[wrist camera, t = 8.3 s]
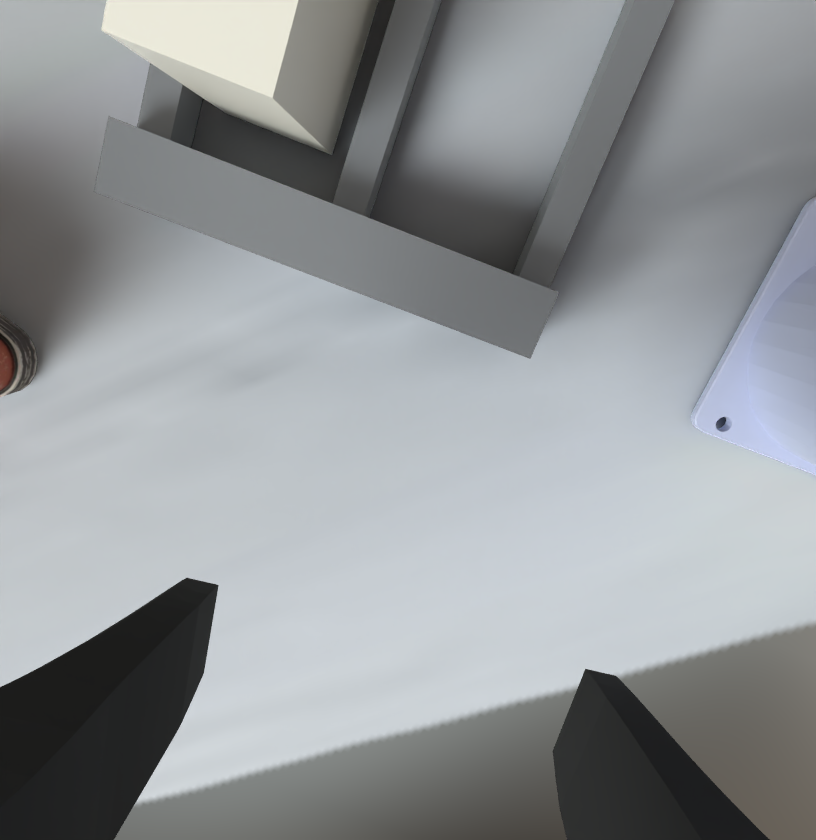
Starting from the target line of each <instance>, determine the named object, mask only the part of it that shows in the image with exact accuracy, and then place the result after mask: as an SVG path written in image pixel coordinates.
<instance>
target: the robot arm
mask: <svg viewBox="0 0 816 840" xmlns="http://www.w3.org/2000/svg"><path fill="white" fill-rule="evenodd" d="M722 417H726V423H725V425H724V426H723V427H721V428H716V422H717V421H718V420H719V418H722ZM691 422H692V424H693V426H694V427H696V428H697V429H699V430H700V431H702V432H704V433H706V434H709V435H712V436H714V437H717V438H720V439H722V440H725V441H727V442H730V443H733V444H735V445H738V446H741V447H743V448H746V449H748V450H751V451H754V452H756V453H759V454H761V455H764V456H767V457H769V458H772V459H775V460H777V461H780V462H782V463H785V464H788V465H790V466H793V467H796V468H798V469H801V470H803V471H806V472H809V473H811V474H814V475H816V197H814V198H812V199H810V200H809V201H808V202H807V203H806V204H805V206H804V207H803V209H802V210H801V212H800V214H799V216H798V218H797V220H796V222H795V223H794V225H793V227H792V229H791V231H790V233H789V234H788V236H787V238H786V240H785V242H784V244H783V245H782V247H781V249H780V251H779V253H778V255H777V257H776V258H775V260H774V262H773V264H772V266H771V268H770V269H769V271H768V273H767V275H766V277H765V279H764V280H763V282H762V284H761V286H760V288H759V290H758V292H757V293H756V295H755V297H754V299H753V301H752V303H751V304H750V306H749V308H748V310H747V312H746V314H745V315H744V317H743V319H742V321H741V323H740V325H739V327H738V328H737V330H736V332H735V334H734V336H733V338H732V339H731V341H730V343H729V345H728V347H727V349H726V350H725V352H724V354H723V356H722V358H721V360H720V362H719V363H718V365H717V367H716V369H715V371H714V373H713V374H712V376H711V378H710V380H709V382H708V384H707V385H706V387H705V389H704V391H703V393H702V395H701V397H700V398H699V400H698V402H697V404H696V406H695V408H694V409H693V411H692V414H691ZM217 591H218V585H216V584H211V583H207V582H203V581H198V580H194V579H189V578H186V579H184V580H182V581H180V582H179V583H177V584H176V585H174V586H173V587H171V588H170V589H168V590H167V591H165V592H164V593H162V594H161V595H159V596H158V597H156V598H155V599H153V600H151V601H150V602H148V603H147V604H145V605H144V606H142V607H141V608H139V609H138V610H136V611H135V612H133V613H132V614H130V615H128V616H127V617H125V618H124V619H122V620H120V621H119V622H117V623H116V624H114V625H112V626H111V627H109V628H108V629H106V630H104V631H103V632H101V633H99V634H98V635H96V636H95V637H93V638H91V639H90V640H88V641H86V642H85V643H83V644H81V645H79V646H77V647H76V648H74V649H72V650H70V651H68V652H67V653H65V654H63V655H61V656H60V657H58V658H56V659H54V660H52V661H51V662H49V663H47V664H45V665H43V666H42V667H40V668H38V669H36V670H34V671H32V672H30V673H28V674H26V675H24V676H22V677H21V678H19V679H16V680H14V681H12V682H10V683H8V684H6V685H4V686H2V687H0V840H114V838H115V837H116V835H117V833H118V831H119V830H120V828H121V826H122V825H123V823H124V821H125V819H126V818H127V816H128V814H129V813H130V811H131V809H132V808H133V806H134V804H135V803H136V801H137V799H138V797H139V796H140V794H141V792H142V791H143V789H144V787H145V786H146V784H147V782H148V780H149V779H150V777H151V775H152V774H153V772H154V770H155V768H156V767H157V765H158V763H159V762H160V760H161V758H162V756H163V755H164V753H165V751H166V750H167V748H168V746H169V744H170V743H171V741H172V739H173V737H174V736H175V734H176V732H177V730H178V729H179V727H180V725H181V723H182V721H183V719H184V716H185V714H186V712H187V710H188V708H189V705H190V703H191V701H192V699H193V696H194V694H195V692H196V690H197V687H198V685H199V683H200V680H201V678H202V676H203V674H204V668H205V662H206V656H207V650H208V644H209V638H210V632H211V626H212V620H213V615H214V609H215V603H216V597H217ZM553 756H554V766H555V776H556V783H557V791H558V799H559V806H560V811H561V816H562V820H563V824H564V828H565V832H566V837H567V840H769V839H768V838H767V837H766V836H765V835H764V834H763V833H762V832H761V831H760V830H759V829H758V828H757V827H756V826H755V825H754V824H753V823H752V822H751V821H750V820H749V819H748V818H747V817H746V816H745V815H744V814H743V813H742V812H741V811H740V810H739V809H738V808H737V807H736V806H735V805H734V804H733V803H732V802H731V801H730V800H729V799H728V797H726V795H724V793H723V792H722V791H721V790H720V789H719V788H718V787H717V786H716V785H715V784H714V783H713V782H712V781H711V780H710V778H709V777H708V776H707V775H706V774H705V773H704V772H703V771H702V770H701V769H700V768H699V767H698V766H697V765H696V763H695V762H694V761H693V760H692V759H691V758H690V757H689V756H688V755H687V754H686V752H685V751H684V750H683V749H682V748H681V747H680V746H679V745H678V743H677V742H676V741H675V740H674V739H673V738H672V737H671V736H670V734H669V733H668V732H667V731H666V730H665V729H664V728H663V727H662V725H661V724H660V723H659V722H658V721H657V720H656V719H655V718H654V716H653V715H652V714H651V713H650V712H649V711H648V710H647V709H646V707H645V706H644V705H643V704H642V703H641V702H640V701H639V700H638V698H637V697H636V696H635V695H634V694H633V693H632V692H631V691H630V690H629V689H628V688H627V687H626V686H625V685H624V683H622V681H621V680H620V679H619V678H618V677H616V676H614V675H610V674H605V673H601V672H596V671H592V670H588V669H585V671H584V674H583V677H582V679H581V682H580V684H579V687H578V689H577V692H576V694H575V697H574V699H573V702H572V704H571V707H570V709H569V712H568V714H567V717H566V719H565V722H564V724H563V727H562V729H561V732H560V734H559V737H558V740H557V742H556V744H555V747H554V750H553Z"/></svg>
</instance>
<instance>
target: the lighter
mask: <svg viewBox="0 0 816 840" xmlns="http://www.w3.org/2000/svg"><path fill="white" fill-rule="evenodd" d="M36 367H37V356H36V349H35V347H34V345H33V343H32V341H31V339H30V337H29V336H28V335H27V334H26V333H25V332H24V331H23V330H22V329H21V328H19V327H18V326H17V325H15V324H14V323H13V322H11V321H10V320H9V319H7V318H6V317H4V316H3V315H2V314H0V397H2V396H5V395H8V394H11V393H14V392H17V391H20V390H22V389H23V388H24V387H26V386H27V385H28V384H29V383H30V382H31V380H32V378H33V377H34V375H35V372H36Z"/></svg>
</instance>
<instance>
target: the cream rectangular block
mask: <svg viewBox="0 0 816 840" xmlns="http://www.w3.org/2000/svg"><path fill="white" fill-rule="evenodd" d="M378 1H379V0H107V1H106V7H105V12H104V18H103V23H102V29H101V30H102V31H103V32H105V33H106V34H108V35H109V36H111V37H112V38H114V39H115V40H117V41H118V42H120V43H121V44H123V45H124V46H126V47H127V48H129V49H130V50H132V51H133V52H135V53H136V54H138V55H139V56H141V57H142V58H144V59H145V60H147V61H148V62H150V63H151V64H153V65H154V66H156V67H157V68H159V69H160V70H162V71H163V72H165V73H166V74H168V75H169V76H171V77H172V78H174V79H175V80H177V81H178V82H180V83H181V84H183V85H184V86H186V87H187V88H189V89H190V90H192V91H193V92H195V93H196V94H198V95H199V96H201V97H202V98H204V99H205V100H207V101H208V102H210V103H211V104H213V105H214V106H216V107H217V108H219V109H220V110H222V111H223V112H225V113H226V114H229V115H231V116H234V117H236V118H239V119H241V120H244V121H246V122H249V123H252V124H254V125H257V126H259V127H262V128H264V129H267V130H269V131H272V132H274V133H277V134H280V135H282V136H285V137H287V138H290V139H292V140H295V141H297V142H300V143H302V144H305V145H308V146H310V147H313V148H315V149H318V150H320V151H323V152H325V153H328V154H330V155H332V154H333V150H334V147H335V144H336V140H337V137H338V134H339V130H340V127H341V124H342V121H343V117H344V114H345V111H346V107H347V104H348V101H349V97H350V94H351V91H352V87H353V84H354V81H355V77H356V74H357V71H358V67H359V64H360V61H361V58H362V54H363V51H364V48H365V44H366V41H367V38H368V34H369V31H370V28H371V24H372V21H373V18H374V14H375V11H376V8H377V4H378Z"/></svg>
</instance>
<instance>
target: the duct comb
mask: <svg viewBox="0 0 816 840" xmlns="http://www.w3.org/2000/svg"><path fill="white" fill-rule="evenodd" d="M441 1H442V0H395V3H394V7H393V10H392V13H391V16H390V19H389V23H388V26H387V29H386V32H385V35H384V39H383V42H382V45H381V48H380V52H379V55H378V58H377V61H376V64H375V68H374V71H373V74H372V77H371V80H370V84H369V87H368V90H367V93H366V96H365V100H364V103H363V106H362V109H361V112H360V116H359V119H358V122H357V125H356V128H355V132H354V135H353V138H352V141H351V144H350V148H349V151H348V154H347V157H346V160H345V164H344V167H343V170H342V173H341V177H340V180H339V183H338V186H337V189H336V193H335V196H334V199H333V202H332V203H329V202H327V201H324V200H322V199H319V198H317V197H314V196H312V195H309V194H306V193H304V192H301V191H299V190H296V189H294V188H291V187H289V186H286V185H283V184H281V183H278V182H276V181H273V180H271V179H268V178H266V177H263V176H260V175H258V174H255V173H253V172H250V171H248V170H245V169H243V168H240V167H237V166H235V165H232V164H230V163H227V162H225V161H222V160H220V159H217V158H214V157H212V156H209V155H207V154H204V153H202V152H199V151H197V150H194V149H191V147H192V142H193V138H194V134H195V130H196V125H197V121H198V117H199V113H200V109H201V104H202V100H203V98H202V97H201V96H199V95H198V94H196V93H195V92H193V91H192V90H190V89H189V88H187V87H186V86H184V85H183V84H181V83H180V82H178V81H177V80H175V79H174V78H172V77H171V76H169V75H168V74H166V73H165V72H163V71H162V70H160V69H159V68H157V67H156V66H154V65H153V64H151V63H150V67H149V72H148V76H147V81H146V86H145V91H144V96H143V100H142V105H141V110H140V115H139V120H138V124H137V127H135V126H133V125H130V124H128V123H125V122H122V121H120V120H117V119H115V118H112V117H110V116H109V117H108V122H107V127H106V133H105V138H104V143H103V148H102V153H101V158H100V163H99V169H98V174H97V179H96V184H95V189H94V192H95V193H98V194H101V195H103V196H106V197H108V198H111V199H114V200H116V201H119V202H121V203H124V204H127V205H129V206H132V207H135V208H137V209H140V210H142V211H145V212H148V213H150V214H153V215H155V216H158V217H161V218H163V219H166V220H169V221H171V222H174V223H176V224H179V225H182V226H184V227H187V228H190V229H192V230H195V231H197V232H200V233H203V234H205V235H208V236H210V237H213V238H216V239H218V240H221V241H224V242H226V243H229V244H231V245H234V246H237V247H239V248H242V249H244V250H247V251H250V252H252V253H255V254H258V255H260V256H263V257H265V258H268V259H271V260H273V261H276V262H278V263H281V264H284V265H286V266H289V267H292V268H294V269H297V270H299V271H302V272H305V273H307V274H310V275H312V276H315V277H318V278H320V279H323V280H326V281H328V282H331V283H333V284H336V285H339V286H341V287H344V288H346V289H349V290H352V291H354V292H357V293H360V294H362V295H365V296H367V297H370V298H373V299H375V300H378V301H380V302H383V303H386V304H388V305H391V306H394V307H396V308H399V309H401V310H404V311H407V312H409V313H412V314H415V315H417V316H420V317H422V318H425V319H428V320H430V321H433V322H435V323H438V324H441V325H443V326H446V327H449V328H451V329H454V330H456V331H459V332H462V333H464V334H467V335H469V336H472V337H475V338H477V339H480V340H483V341H485V342H488V343H490V344H493V345H496V346H498V347H501V348H503V349H506V350H509V351H511V352H514V353H517V354H519V355H522V356H524V357H527V358H531V356H532V354H533V351H534V349H535V347H536V345H537V342H538V340H539V338H540V335H541V333H542V331H543V329H544V326H545V324H546V322H547V320H548V317H549V315H550V313H551V311H552V308H553V306H554V304H555V302H556V299H557V297H558V295H559V292H557V291H554V290H552V289H549V288H550V286H551V283H552V281H553V279H554V277H555V274H556V272H557V270H558V267H559V265H560V263H561V261H562V258H563V256H564V254H565V251H566V249H567V247H568V244H569V242H570V240H571V238H572V235H573V233H574V231H575V228H576V226H577V224H578V222H579V219H580V217H581V215H582V212H583V210H584V208H585V206H586V203H587V201H588V199H589V196H590V194H591V192H592V189H593V187H594V185H595V183H596V180H597V178H598V176H599V173H600V171H601V169H602V167H603V164H604V162H605V160H606V157H607V155H608V153H609V150H610V148H611V146H612V144H613V141H614V139H615V137H616V134H617V132H618V130H619V128H620V125H621V123H622V121H623V118H624V116H625V114H626V111H627V109H628V107H629V105H630V102H631V100H632V98H633V95H634V93H635V91H636V89H637V86H638V84H639V82H640V79H641V77H642V75H643V73H644V70H645V68H646V66H647V63H648V61H649V59H650V56H651V54H652V52H653V50H654V47H655V45H656V43H657V40H658V38H659V36H660V34H661V31H662V29H663V27H664V24H665V22H666V20H667V17H668V15H669V13H670V11H671V8H672V6H673V4H674V1H675V0H626V2H625V4H624V6H623V9H622V11H621V14H620V16H619V18H618V21H617V23H616V26H615V28H614V31H613V33H612V35H611V38H610V40H609V43H608V45H607V47H606V50H605V52H604V55H603V57H602V60H601V62H600V64H599V67H598V69H597V72H596V74H595V76H594V79H593V81H592V84H591V86H590V88H589V91H588V93H587V96H586V98H585V101H584V103H583V105H582V108H581V110H580V113H579V115H578V117H577V120H576V122H575V125H574V127H573V130H572V132H571V134H570V137H569V139H568V142H567V144H566V146H565V149H564V151H563V154H562V156H561V158H560V161H559V163H558V166H557V168H556V171H555V173H554V175H553V178H552V180H551V183H550V185H549V187H548V190H547V192H546V195H545V197H544V199H543V202H542V204H541V207H540V209H539V212H538V214H537V216H536V219H535V221H534V224H533V226H532V228H531V231H530V233H529V236H528V238H527V241H526V243H525V245H524V248H523V250H522V253H521V255H520V257H519V260H518V262H517V265H516V267H515V269H514V272H513V274H511V273H508V272H506V271H503V270H501V269H498V268H496V267H493V266H490V265H488V264H485V263H483V262H480V261H478V260H475V259H473V258H470V257H467V256H465V255H462V254H460V253H457V252H455V251H452V250H450V249H447V248H444V247H442V246H439V245H437V244H434V243H432V242H429V241H427V240H424V239H421V238H419V237H416V236H414V235H411V234H409V233H406V232H404V231H401V230H398V229H396V228H393V227H391V226H388V225H386V224H383V223H381V222H378V221H375V220H373V219H370V215H371V212H372V209H373V206H374V203H375V200H376V197H377V194H378V191H379V188H380V185H381V182H382V179H383V176H384V173H385V170H386V167H387V164H388V161H389V158H390V155H391V151H392V148H393V145H394V142H395V139H396V136H397V133H398V130H399V127H400V124H401V121H402V118H403V115H404V112H405V109H406V106H407V103H408V100H409V97H410V94H411V91H412V88H413V85H414V82H415V79H416V76H417V73H418V70H419V67H420V64H421V61H422V58H423V55H424V52H425V49H426V46H427V43H428V40H429V37H430V34H431V31H432V28H433V25H434V22H435V19H436V16H437V13H438V10H439V7H440V4H441Z"/></svg>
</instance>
